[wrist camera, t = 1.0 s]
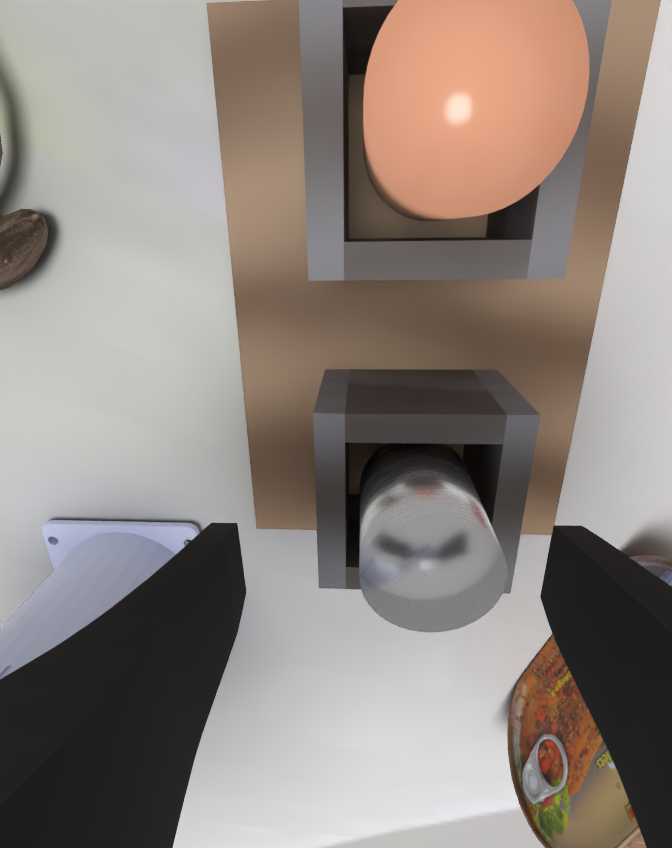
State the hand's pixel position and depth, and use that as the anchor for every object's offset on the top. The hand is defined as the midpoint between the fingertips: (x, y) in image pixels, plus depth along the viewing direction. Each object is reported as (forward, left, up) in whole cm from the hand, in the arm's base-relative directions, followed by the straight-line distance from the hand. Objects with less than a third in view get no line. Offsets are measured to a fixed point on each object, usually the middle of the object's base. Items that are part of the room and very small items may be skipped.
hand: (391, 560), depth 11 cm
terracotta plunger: (+9, -1, -6) cm, 11 cm away
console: (+4, -1, -10) cm, 11 cm away
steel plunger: (-2, -1, -6) cm, 7 cm away
